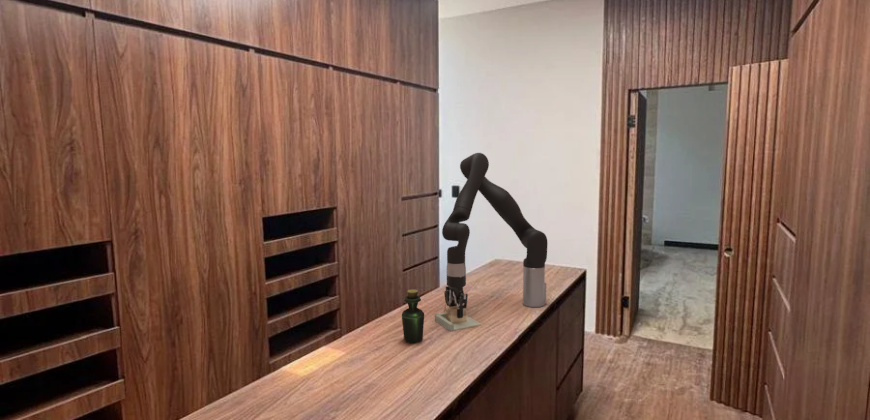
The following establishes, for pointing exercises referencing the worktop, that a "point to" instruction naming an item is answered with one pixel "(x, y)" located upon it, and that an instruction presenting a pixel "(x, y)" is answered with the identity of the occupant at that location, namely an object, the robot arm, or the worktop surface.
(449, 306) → the cup
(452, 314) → the maple brick
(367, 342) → the worktop surface
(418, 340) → the potion bottle
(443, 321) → the corner tray
